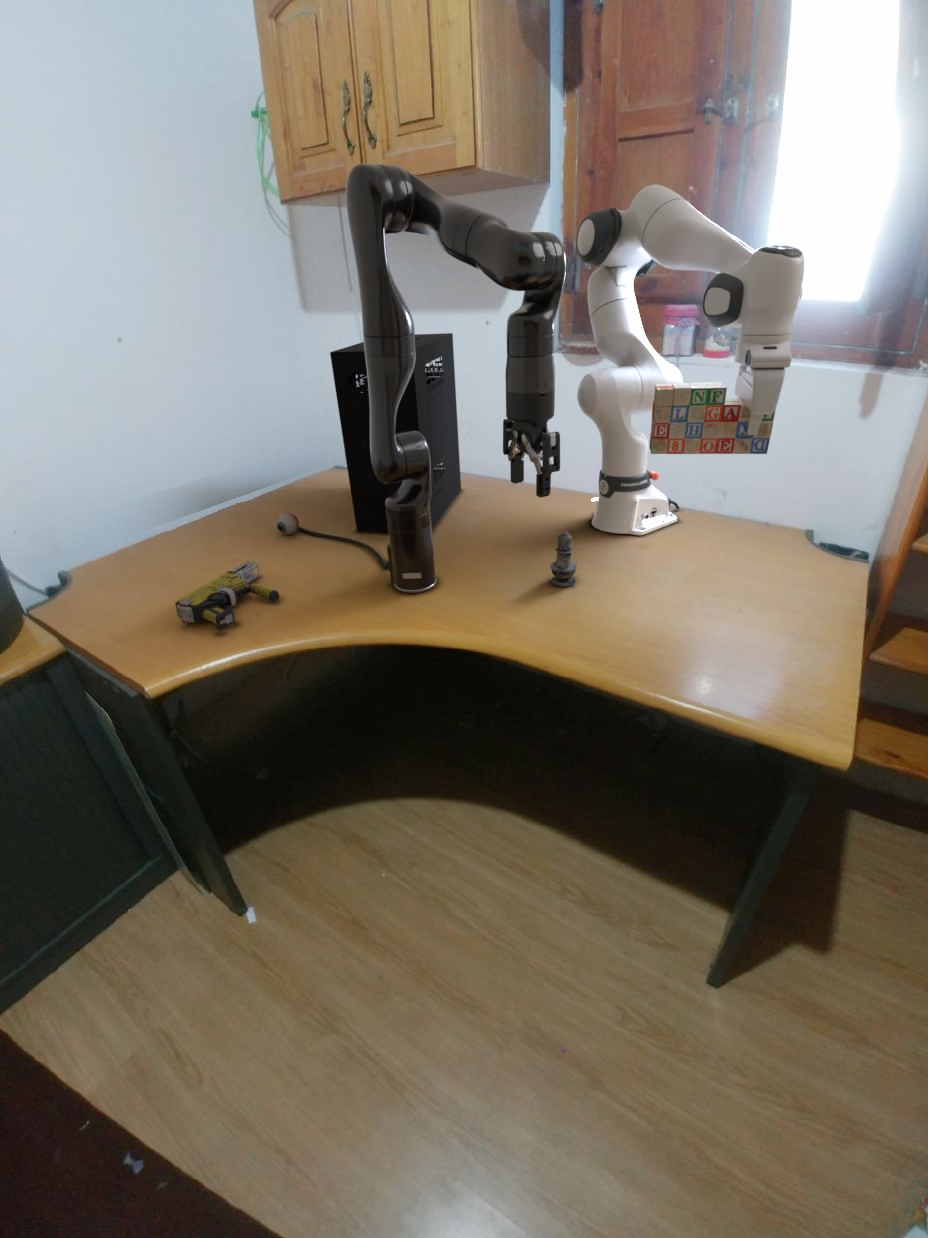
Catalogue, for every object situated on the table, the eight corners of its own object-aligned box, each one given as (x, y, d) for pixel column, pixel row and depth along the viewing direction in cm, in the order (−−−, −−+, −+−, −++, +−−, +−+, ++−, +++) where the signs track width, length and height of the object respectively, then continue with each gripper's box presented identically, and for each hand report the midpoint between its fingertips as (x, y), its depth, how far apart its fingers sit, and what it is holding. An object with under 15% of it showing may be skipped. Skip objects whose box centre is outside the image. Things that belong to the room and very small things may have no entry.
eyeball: (273, 537, 164) (268, 516, 161) (287, 528, 169) (282, 508, 166) (291, 539, 161) (286, 518, 158) (305, 530, 166) (301, 510, 163)
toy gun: (300, 570, 137) (245, 558, 141) (232, 617, 117) (169, 602, 121) (302, 588, 139) (247, 576, 143) (235, 638, 119) (173, 622, 123)
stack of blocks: (760, 446, 119) (773, 380, 113) (767, 455, 114) (781, 386, 108) (648, 446, 124) (655, 382, 118) (649, 454, 119) (656, 388, 112)
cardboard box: (428, 534, 159) (412, 349, 137) (356, 531, 164) (329, 352, 141) (461, 489, 191) (452, 333, 168) (400, 488, 195) (384, 335, 173)
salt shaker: (576, 587, 129) (578, 535, 123) (548, 586, 130) (549, 534, 124) (577, 575, 134) (579, 524, 128) (550, 574, 135) (551, 523, 129)
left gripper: (487, 383, 97) (490, 482, 105) (532, 395, 85) (532, 505, 93) (528, 377, 99) (528, 474, 107) (577, 389, 88) (572, 496, 96)
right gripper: (733, 344, 118) (722, 417, 125) (753, 358, 101) (739, 442, 108) (768, 343, 117) (755, 417, 123) (795, 357, 99) (777, 442, 106)
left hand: (529, 489), depth 100 cm, fingers open, 8 cm apart
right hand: (747, 429), depth 115 cm, fingers closed on stack of blocks, 6 cm apart
